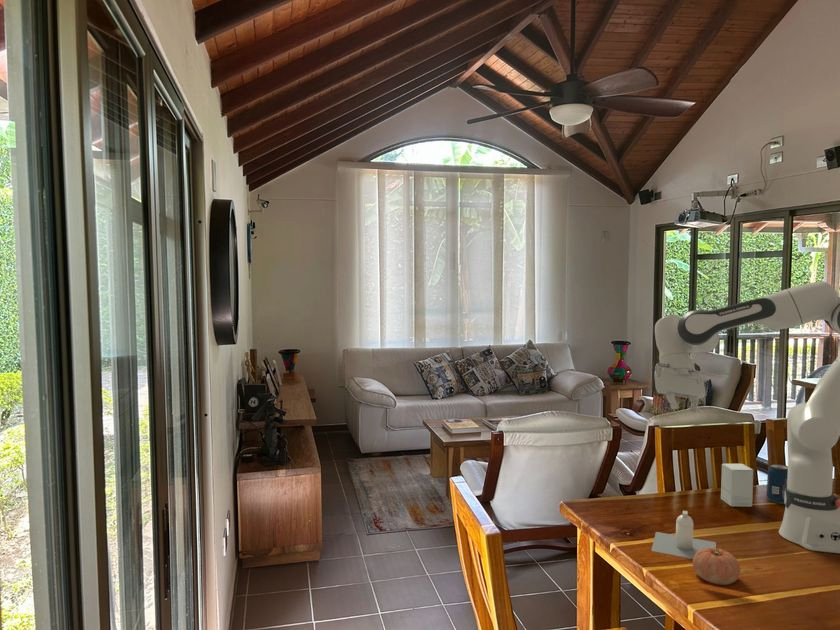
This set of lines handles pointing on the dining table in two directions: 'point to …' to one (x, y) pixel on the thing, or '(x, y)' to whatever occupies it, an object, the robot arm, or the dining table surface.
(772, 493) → the soda can
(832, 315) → the robot arm
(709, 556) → the tomato
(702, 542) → the grey pad
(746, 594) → the dining table surface
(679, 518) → the white rounded bottle
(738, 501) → the supplement box
